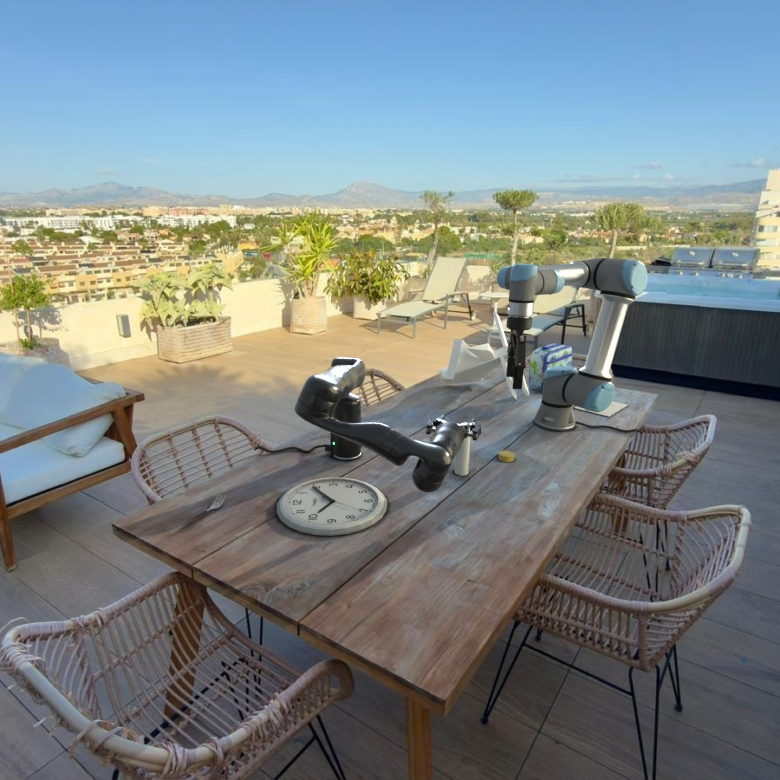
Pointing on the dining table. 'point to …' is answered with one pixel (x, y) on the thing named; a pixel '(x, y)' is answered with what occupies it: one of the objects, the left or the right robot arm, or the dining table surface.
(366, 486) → the wall clock
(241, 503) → the dining table surface
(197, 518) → the fork
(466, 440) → the white cylinder
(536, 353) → the lunch box
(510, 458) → the lid
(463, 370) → the white plastic object
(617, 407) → the invitation card
